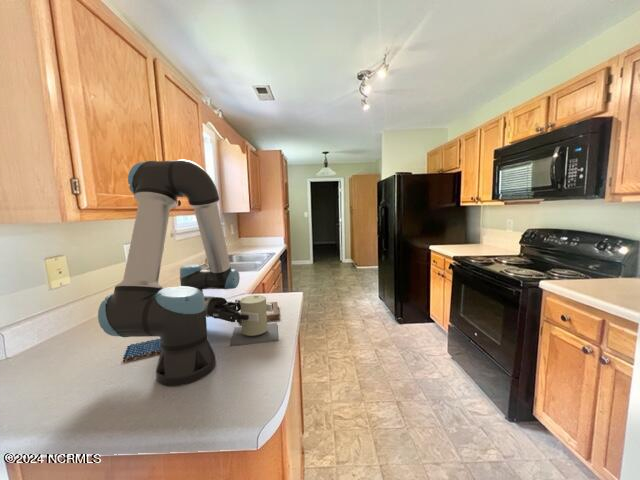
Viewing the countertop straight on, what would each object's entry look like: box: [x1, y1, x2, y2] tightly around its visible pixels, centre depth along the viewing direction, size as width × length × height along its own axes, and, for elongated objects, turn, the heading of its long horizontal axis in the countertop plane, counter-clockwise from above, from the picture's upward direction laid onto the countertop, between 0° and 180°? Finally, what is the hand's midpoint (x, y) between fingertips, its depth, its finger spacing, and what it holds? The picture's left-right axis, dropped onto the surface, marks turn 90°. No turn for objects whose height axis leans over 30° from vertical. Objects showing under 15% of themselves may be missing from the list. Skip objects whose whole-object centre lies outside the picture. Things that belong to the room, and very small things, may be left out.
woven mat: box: [122, 338, 161, 363], centre depth 88 cm, size 10×11×2 cm
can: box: [239, 294, 268, 336], centre depth 96 cm, size 9×9×12 cm
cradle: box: [238, 301, 280, 324], centre depth 117 cm, size 16×16×2 cm
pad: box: [229, 322, 279, 348], centre depth 97 cm, size 16×14×1 cm
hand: (265, 312), depth 95 cm, fingers closed on can, 9 cm apart
